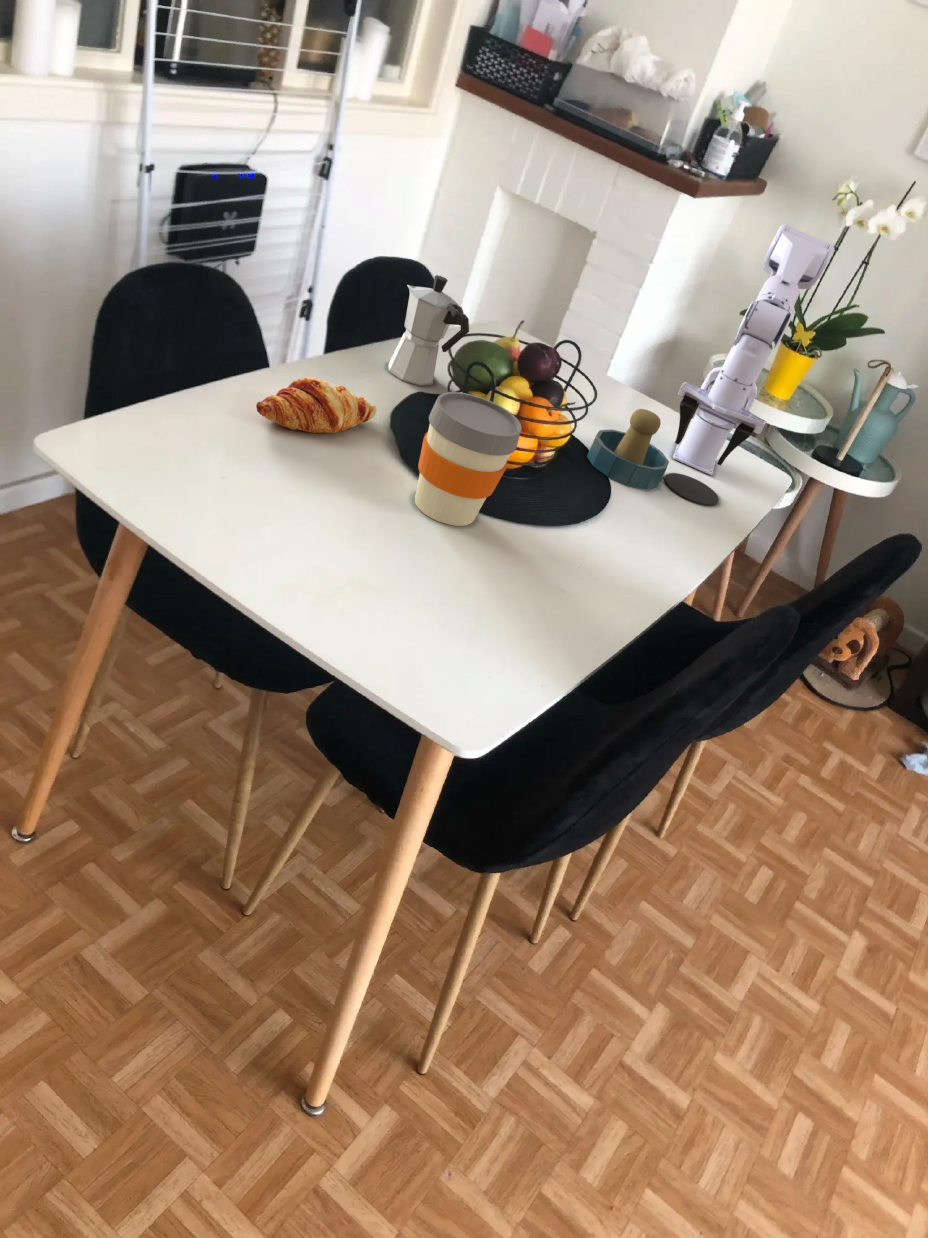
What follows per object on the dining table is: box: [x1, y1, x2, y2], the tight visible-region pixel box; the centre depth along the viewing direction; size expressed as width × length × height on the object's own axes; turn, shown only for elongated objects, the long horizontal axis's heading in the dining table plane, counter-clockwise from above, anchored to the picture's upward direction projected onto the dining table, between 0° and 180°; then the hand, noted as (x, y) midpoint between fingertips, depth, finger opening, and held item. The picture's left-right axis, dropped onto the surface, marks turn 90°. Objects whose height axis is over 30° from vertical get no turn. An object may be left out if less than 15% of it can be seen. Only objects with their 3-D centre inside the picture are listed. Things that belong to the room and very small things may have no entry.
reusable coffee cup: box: [414, 391, 523, 527], centre depth 138 cm, size 12×12×15 cm
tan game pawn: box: [614, 408, 662, 465], centre depth 174 cm, size 6×6×11 cm
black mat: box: [663, 472, 720, 507], centre depth 179 cm, size 10×10×1 cm
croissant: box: [256, 377, 377, 434], centre depth 150 cm, size 21×10×8 cm, turn 130°
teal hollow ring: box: [586, 428, 670, 490], centre depth 176 cm, size 13×13×4 cm
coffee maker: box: [387, 274, 470, 387], centre depth 175 cm, size 15×9×18 cm, turn 50°
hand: (698, 452), depth 166 cm, fingers open, 7 cm apart
